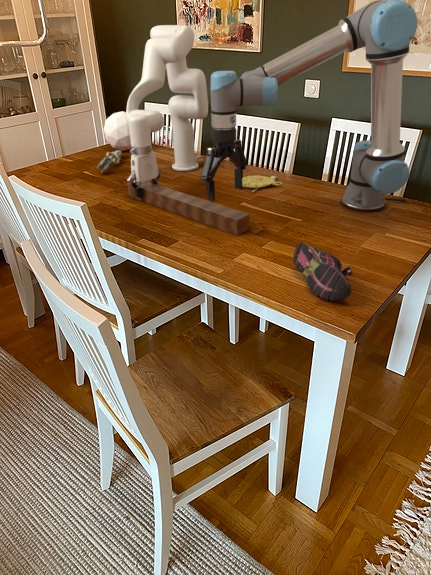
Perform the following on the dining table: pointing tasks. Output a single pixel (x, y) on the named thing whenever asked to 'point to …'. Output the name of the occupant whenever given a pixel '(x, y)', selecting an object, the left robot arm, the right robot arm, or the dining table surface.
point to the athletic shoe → (322, 272)
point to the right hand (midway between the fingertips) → (225, 194)
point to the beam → (193, 207)
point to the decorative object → (258, 181)
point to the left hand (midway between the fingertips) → (147, 194)
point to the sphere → (117, 131)
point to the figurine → (110, 160)
